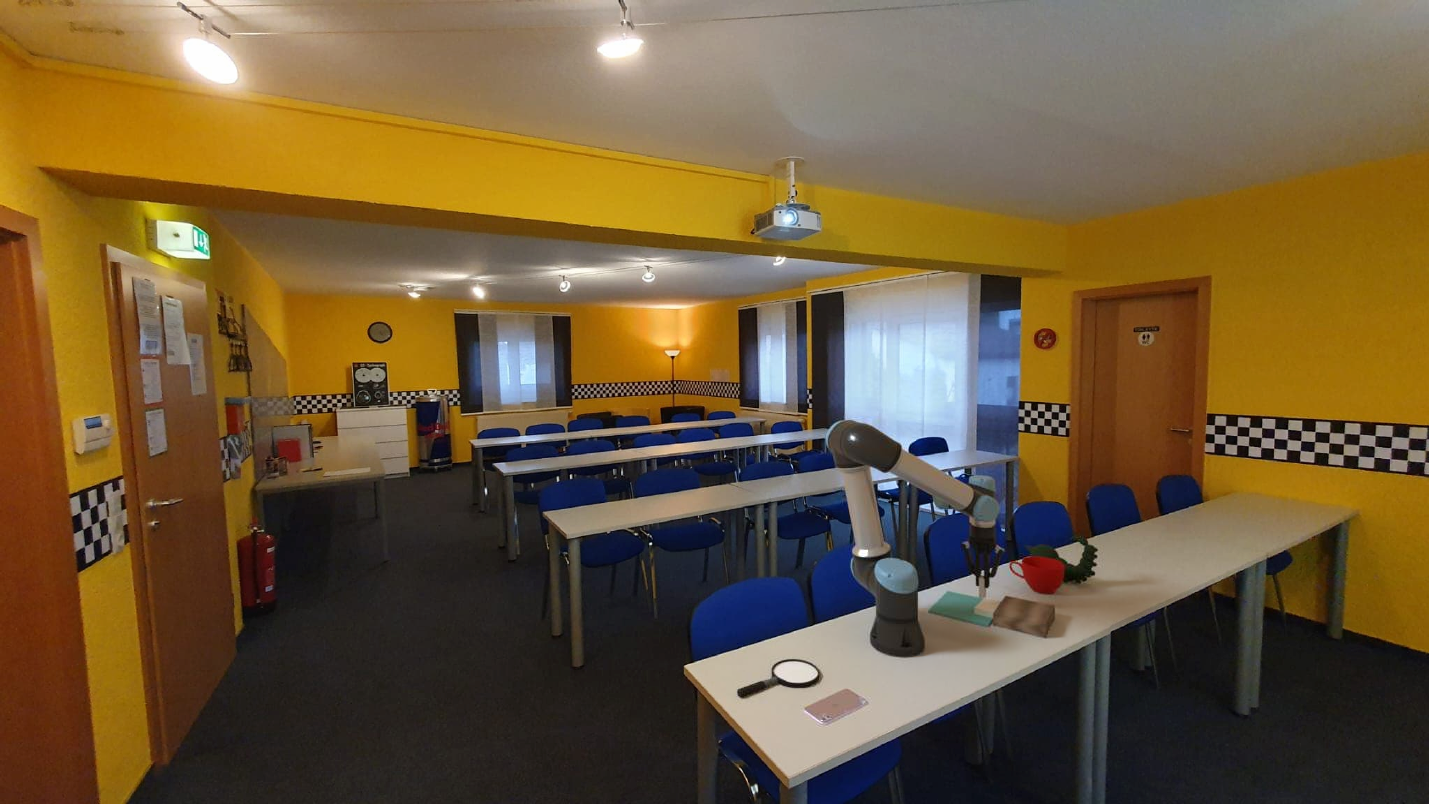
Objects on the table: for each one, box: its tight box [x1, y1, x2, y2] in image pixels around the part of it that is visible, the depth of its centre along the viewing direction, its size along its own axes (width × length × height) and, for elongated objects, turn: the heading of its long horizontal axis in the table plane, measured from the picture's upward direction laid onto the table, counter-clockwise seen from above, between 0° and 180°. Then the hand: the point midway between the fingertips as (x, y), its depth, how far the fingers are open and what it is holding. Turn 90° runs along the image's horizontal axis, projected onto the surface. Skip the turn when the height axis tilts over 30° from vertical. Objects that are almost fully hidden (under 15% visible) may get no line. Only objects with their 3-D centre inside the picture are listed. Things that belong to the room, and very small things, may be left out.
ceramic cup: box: [1009, 556, 1065, 595], centre depth 200 cm, size 13×17×10 cm
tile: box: [974, 598, 1001, 618], centre depth 183 cm, size 6×9×2 cm, turn 137°
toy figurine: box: [1024, 535, 1099, 585], centre depth 210 cm, size 9×19×25 cm
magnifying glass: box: [736, 658, 820, 699], centre depth 147 cm, size 12×24×2 cm, turn 121°
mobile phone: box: [803, 688, 868, 726], centre depth 136 cm, size 8×1×15 cm
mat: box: [927, 590, 1001, 628], centre depth 187 cm, size 18×20×1 cm
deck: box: [992, 595, 1056, 639], centre depth 176 cm, size 14×16×4 cm
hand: (982, 596), depth 183 cm, fingers closed
